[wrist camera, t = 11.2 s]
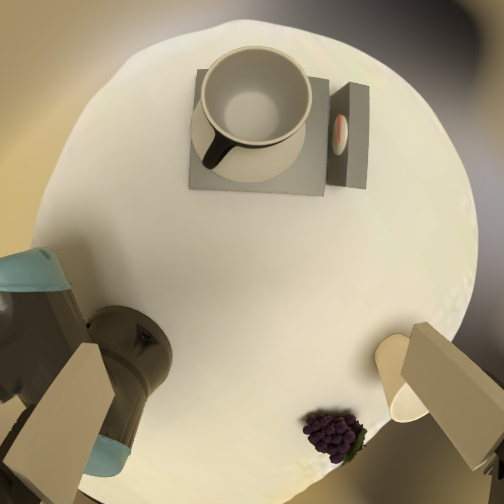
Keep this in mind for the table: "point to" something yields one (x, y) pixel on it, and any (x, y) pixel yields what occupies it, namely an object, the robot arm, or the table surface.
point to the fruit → (336, 436)
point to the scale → (292, 148)
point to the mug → (253, 100)
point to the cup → (397, 380)
